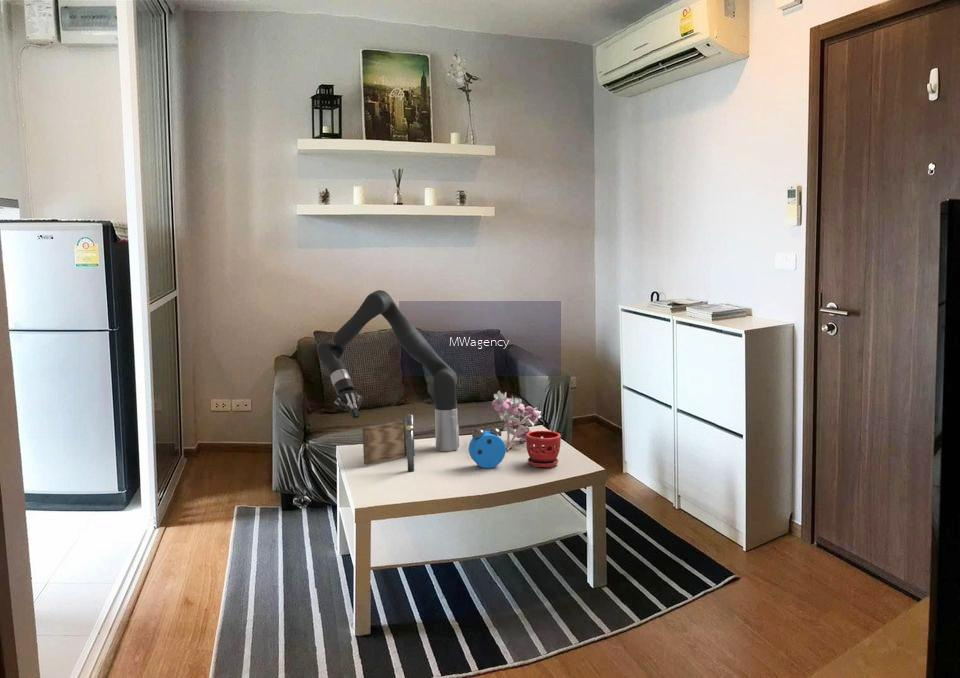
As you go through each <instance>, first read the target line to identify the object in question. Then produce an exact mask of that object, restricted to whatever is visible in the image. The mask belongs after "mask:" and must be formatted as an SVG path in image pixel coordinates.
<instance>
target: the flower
mask: <svg viewBox="0 0 960 678" xmlns="http://www.w3.org/2000/svg"><path fill="white" fill-rule="evenodd" d="M511 397H512V398H511ZM511 397H510V398H508V397H507V391H505V392H504V393H503V392H501V390H498V391H497V393H493V398H494V399H493V400H492V402H491V406H492V407H493V409H494V411H496V412H497V414H498V416H499V417H500V421H503V422H504V425H503V429H502V431H506V434H507V439H506V440H503V442H504V444H505V448H506V451H507V450H508V451H509V449H510V448H512V447H513V443H514V440H515V438H517V439H519V440H518V441H520V442H526V434H527V433H529V432H533V431H531V430H530V427H529V426H532V427H534V426H535V425H536V424H537V423H538V421H539V419H542V415H541V414H542V411H541V410H540V411H539V410H538V409H537V408H538V407H534V408H533V407H532V406H529V405H528V406H526V407H525V404H523V402H522V399H521V398H518V397H517V398H516V397H514V396H513V395H511ZM519 409H520V410H519ZM520 411H522V412H520ZM515 416H518V418H517V417H515ZM520 416H521V417H523V418H522V420H521V421H520V419H521V418H520ZM524 424H525V425H524ZM514 427H516V430H515V429H514ZM510 434H511V436H512V438H510V437H511V436H510ZM510 439H511V440H510Z"/></svg>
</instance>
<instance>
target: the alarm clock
mask: <svg viewBox="0 0 960 678" xmlns="http://www.w3.org/2000/svg"><path fill="white" fill-rule="evenodd" d="M502 435H503V434H502V430H501V429H500V428H499V427H490V429H486V430H485V429H482V428H476V429H475V430H473V432H472V434H471V436H472V438H471V440H470V442H469V444H468V453H469V457H470V458H471V459H472V460H473V462H474V463H475V464H476V466H477V467H481V468H483V469H492V468H495V467H497V466H498V465H500V463H502V462H503V460H504V458H505V456H506V451H507V448H505V444H504V442H503V441H504V440H503V439H502V438H501V437H502Z"/></svg>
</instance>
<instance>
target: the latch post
mask: <svg viewBox="0 0 960 678" xmlns="http://www.w3.org/2000/svg"><path fill="white" fill-rule="evenodd" d="M406 434H407V456H406V457H407V461H406V462H407V472H409V473H412V472H415V457H414V453H415V447H414V448H413V426H412V425H408V426H407V425H406Z"/></svg>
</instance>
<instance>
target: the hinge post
mask: <svg viewBox="0 0 960 678" xmlns="http://www.w3.org/2000/svg"><path fill="white" fill-rule="evenodd" d="M408 425H412V426H413V448H414V449H415V428H414V427H415V426H414V425H415V424H414V414H412V413H411V414H410V413H409V414H407V415H406V426H408ZM414 456H416V455H415V452H414Z"/></svg>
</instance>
